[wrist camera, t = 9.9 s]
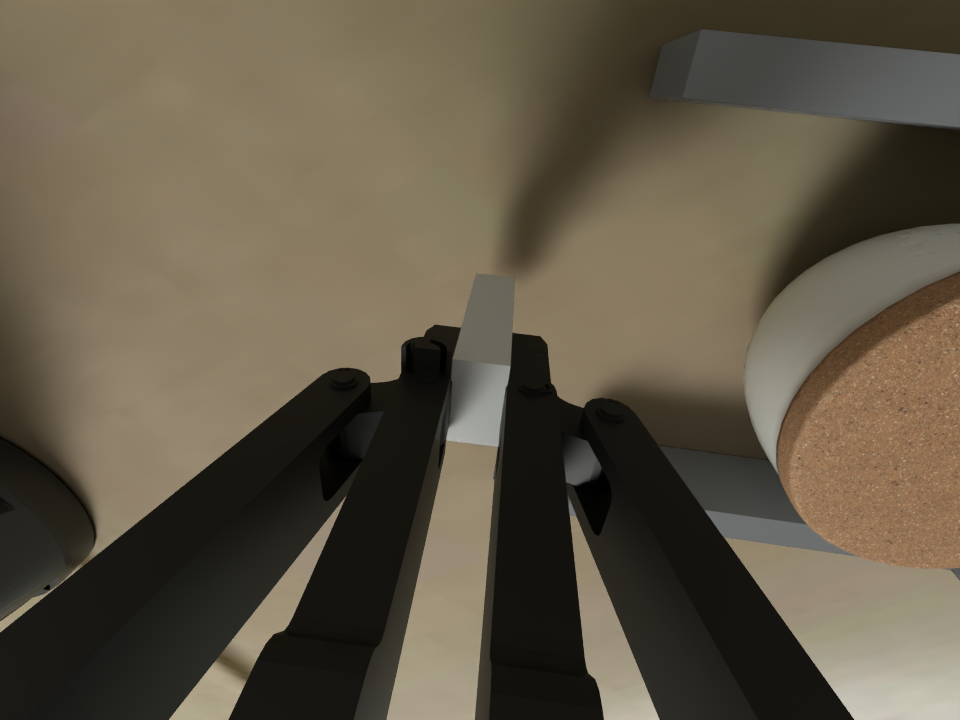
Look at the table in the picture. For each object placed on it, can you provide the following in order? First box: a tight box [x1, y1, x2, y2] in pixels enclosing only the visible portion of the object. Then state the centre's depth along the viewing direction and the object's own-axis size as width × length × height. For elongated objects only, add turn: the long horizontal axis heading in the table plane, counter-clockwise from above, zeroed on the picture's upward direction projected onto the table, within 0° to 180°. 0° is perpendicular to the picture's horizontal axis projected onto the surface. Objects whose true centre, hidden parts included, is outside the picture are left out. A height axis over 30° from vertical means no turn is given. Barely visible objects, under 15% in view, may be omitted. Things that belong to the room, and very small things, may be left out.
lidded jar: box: [744, 224, 960, 568], centre depth 15 cm, size 11×11×9 cm
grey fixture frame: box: [567, 29, 960, 580], centre depth 16 cm, size 18×18×7 cm
